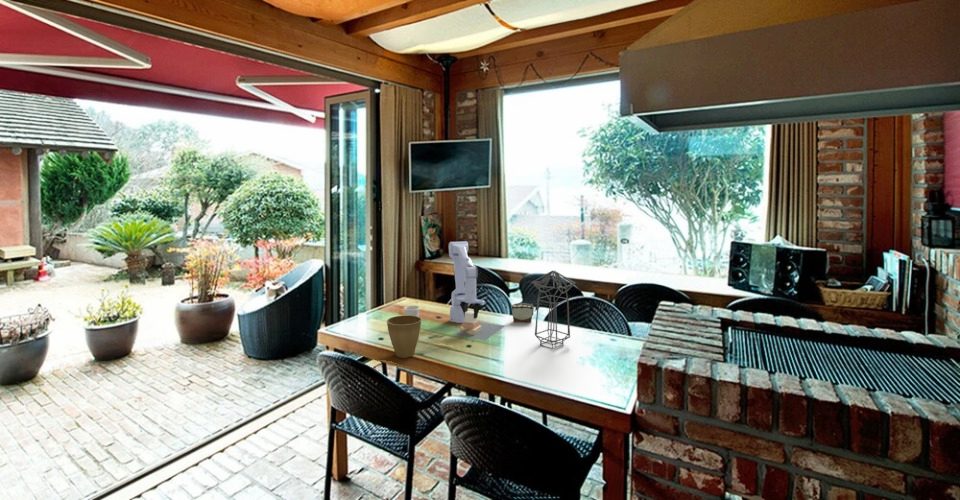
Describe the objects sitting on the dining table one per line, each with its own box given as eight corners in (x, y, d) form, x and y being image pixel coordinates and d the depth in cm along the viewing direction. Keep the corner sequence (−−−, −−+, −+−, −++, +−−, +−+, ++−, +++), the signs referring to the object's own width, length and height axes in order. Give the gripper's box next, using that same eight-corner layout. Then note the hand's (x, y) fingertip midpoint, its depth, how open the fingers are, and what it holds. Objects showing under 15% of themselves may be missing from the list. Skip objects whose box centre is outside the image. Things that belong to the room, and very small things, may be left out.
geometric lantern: (549, 337, 215) (550, 266, 210) (576, 345, 203) (578, 270, 199) (527, 345, 205) (528, 270, 200) (554, 354, 193) (555, 275, 188)
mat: (452, 336, 218) (452, 334, 218) (474, 322, 239) (474, 321, 239) (485, 341, 210) (485, 339, 210) (505, 327, 231) (505, 325, 231)
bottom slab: (460, 332, 220) (460, 328, 220) (467, 328, 228) (467, 323, 227) (474, 335, 217) (474, 330, 217) (481, 330, 224) (481, 325, 224)
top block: (464, 322, 220) (464, 312, 220) (468, 319, 225) (468, 310, 224) (472, 323, 219) (473, 313, 218) (477, 321, 223) (477, 311, 222)
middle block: (462, 327, 221) (462, 322, 220) (468, 324, 226) (468, 319, 226) (473, 329, 218) (473, 324, 218) (478, 325, 223) (478, 321, 223)
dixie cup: (421, 323, 239) (421, 305, 238) (418, 328, 231) (417, 309, 229) (406, 323, 240) (406, 305, 238) (402, 328, 232) (402, 309, 230)
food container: (533, 320, 242) (533, 303, 241) (533, 324, 236) (534, 305, 235) (511, 320, 244) (511, 302, 242) (510, 323, 238) (510, 305, 236)
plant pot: (421, 360, 187) (420, 324, 185) (385, 362, 186) (384, 325, 184) (423, 348, 202) (422, 314, 200) (390, 349, 201) (389, 315, 199)
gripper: (453, 291, 219) (454, 317, 221) (480, 293, 213) (480, 321, 215) (460, 288, 225) (461, 314, 227) (486, 290, 219) (486, 317, 221)
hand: (470, 317), depth 221 cm, fingers open, 5 cm apart
